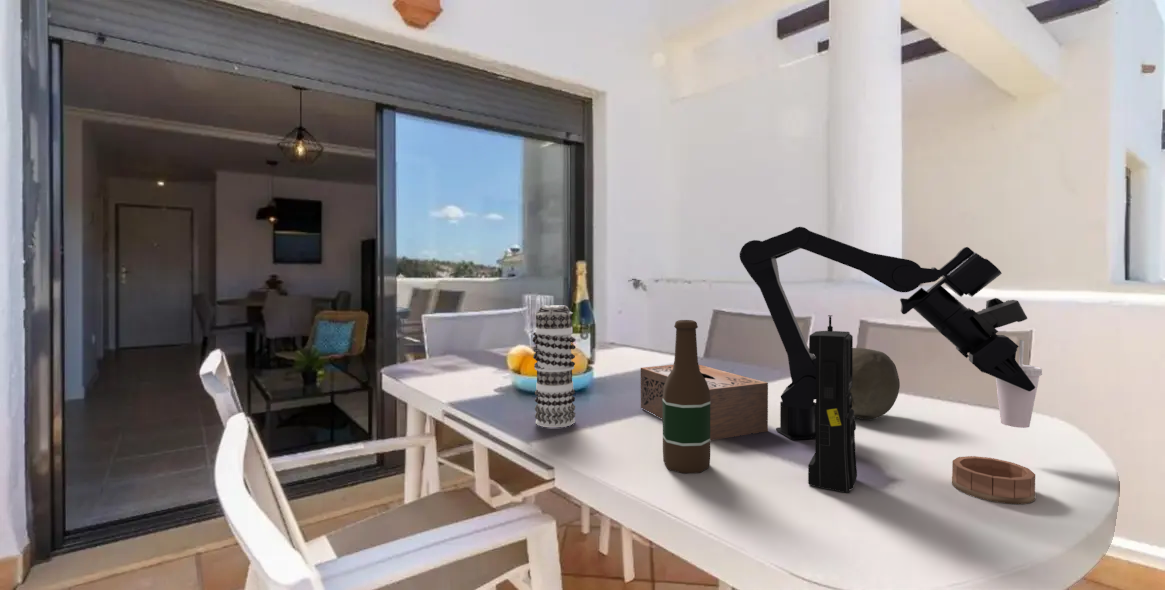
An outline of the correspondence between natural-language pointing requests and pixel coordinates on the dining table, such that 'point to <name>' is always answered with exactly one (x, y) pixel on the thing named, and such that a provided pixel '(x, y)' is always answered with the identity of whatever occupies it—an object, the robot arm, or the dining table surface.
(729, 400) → the tissue box cover
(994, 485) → the round brown planter pot
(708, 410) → the beer bottle
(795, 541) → the dining table surface
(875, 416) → the round brown rock
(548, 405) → the decorative candle
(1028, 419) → the smoothie
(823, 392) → the portable radio
